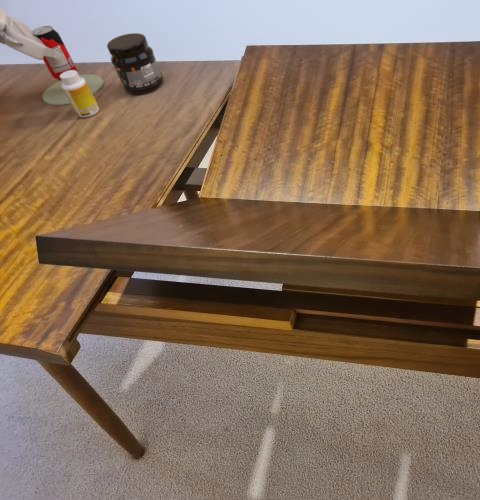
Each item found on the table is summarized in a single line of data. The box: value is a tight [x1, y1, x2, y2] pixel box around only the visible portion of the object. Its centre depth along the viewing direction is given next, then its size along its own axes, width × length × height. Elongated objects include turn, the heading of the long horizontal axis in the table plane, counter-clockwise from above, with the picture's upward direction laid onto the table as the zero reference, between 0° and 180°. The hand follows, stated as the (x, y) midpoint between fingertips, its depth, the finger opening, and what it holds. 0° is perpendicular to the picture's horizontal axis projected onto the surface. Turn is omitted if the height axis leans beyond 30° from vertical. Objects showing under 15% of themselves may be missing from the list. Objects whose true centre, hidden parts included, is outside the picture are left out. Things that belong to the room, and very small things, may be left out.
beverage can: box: [31, 25, 78, 81], centre depth 117 cm, size 6×6×12 cm
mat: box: [41, 73, 105, 106], centre depth 124 cm, size 16×16×1 cm
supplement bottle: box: [60, 70, 100, 119], centre depth 111 cm, size 6×6×10 cm
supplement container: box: [106, 32, 164, 95], centre depth 118 cm, size 10×10×12 cm
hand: (56, 51), depth 117 cm, fingers closed on beverage can, 6 cm apart
